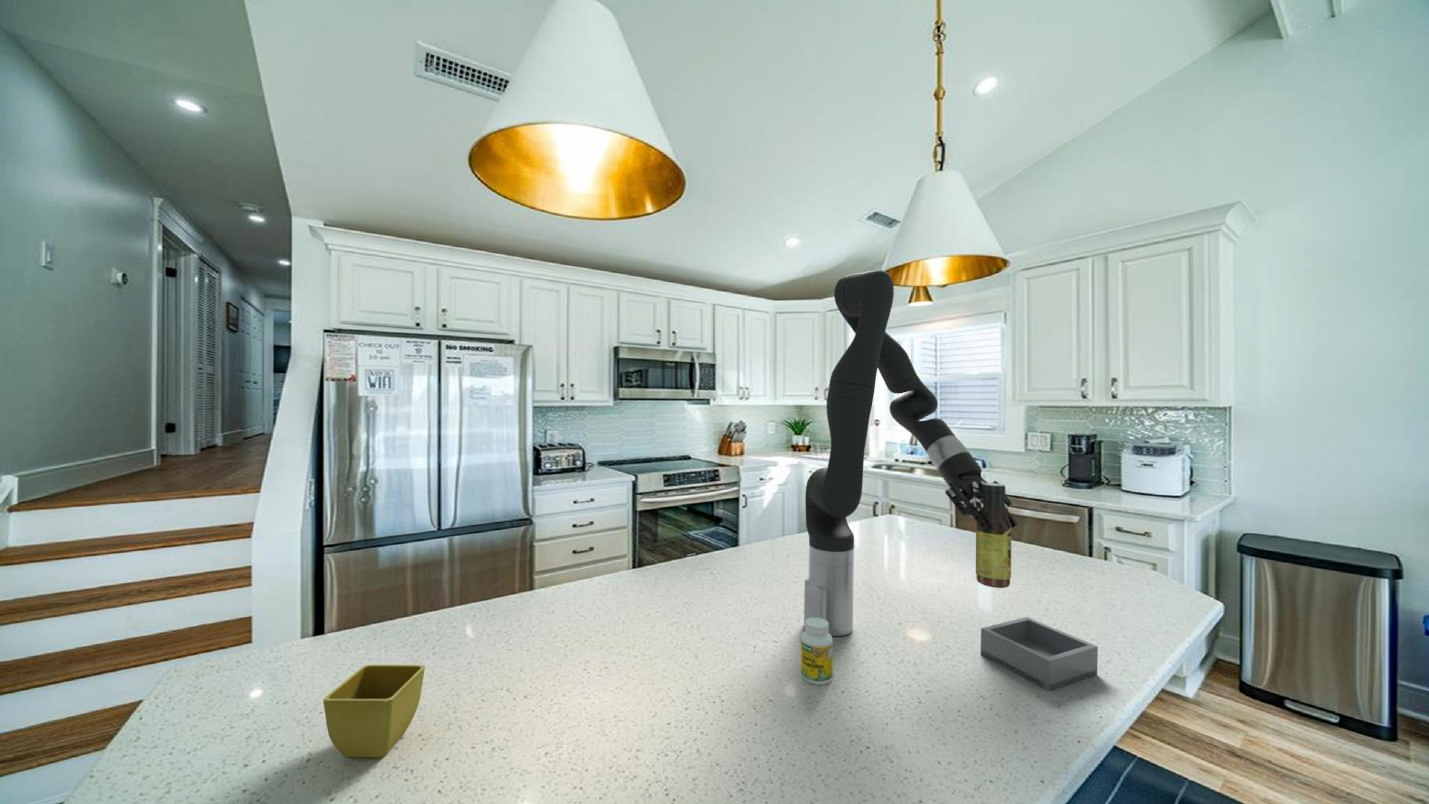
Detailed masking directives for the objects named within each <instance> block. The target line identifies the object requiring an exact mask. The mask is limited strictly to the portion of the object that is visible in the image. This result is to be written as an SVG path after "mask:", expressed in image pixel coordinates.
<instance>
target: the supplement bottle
mask: <svg viewBox="0 0 1429 804" xmlns="http://www.w3.org/2000/svg"><path fill="white" fill-rule="evenodd" d="M804 629H805V630H804V631H803V632H802V634H801V637H800V643H801V644H800V647H801V648H800V674H801V675H800V676H801V678H802V679H803V680H804V681H806V682H807V683H809V684H812V685H816V686H817V685H818V686H819V685H820V686H823V685H827V684H829V683H830V682H832V680H833V677H834V676H833V673H834V671H833V670H834V667H833V666H834V665H833V661H834V660H833V659H834V658H833V656H834V655H833V651H834V647H833V646H834V642H833V641H834V640H833V636H831V635H830V634H829V633H828V631H829V624H828V622H827V621H826V620H824V619H822V618H808V619H806V621H805V624H804Z"/></svg>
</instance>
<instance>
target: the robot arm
mask: <svg viewBox="0 0 1429 804" xmlns="http://www.w3.org/2000/svg"><path fill="white" fill-rule="evenodd" d="M894 288H895V286H894V282H893V279H892V277H891V275H890V274H889V273H888V272H887V271H885V270H883V269H881V270H880V269H879V270H878V269H877V270H869V271H863V272H856V273H851V274H847V275H844V276H843V277H841V278H840V279H839V280H838V281H837V282H836V285H835V286H834V293H833V297H834V303H835V305H836V307H837V310H838V311H839V313H840V314H841V316H842V317H843V319H844V320H845V321H846V323H847V324H848V326H849V327H850V328H851V329H852V331H853V332H854V334H855V335H854V337H853V339H852V341H851V343H850V345H849V346H848V348H847V349H846V350H845V351H844V353H843V354H842V356H841V358H840V359H839V360H838V361H837V363H836V365H835V367H834V369H833V370H832V372H831V375H830V379H829V384H828V391H827V396H826V417H827V421H828V423H827V424H828V428H829V437H830V451H829V458H828V464H827V467H820V468H819V469H816V470H815V471H814V472H813V473H811V474H810V475H809V478H808V480H807V482H806V486H805V497H804V498H805V501H804V503H805V526H806V527H805V528H806V531H807V533H808V539H809V540H808V542H809V543H808V545H809V547H808V579H805V580H804V603H803V604H804V605H803V606H804V607H803V609H804V610H803V611H804V612H803V614H804V615H803V623H804V625H805V621H806V619H808V618H822V619H824V620H826V621H827V622H828V624H829V631H828V633H829V634H830V635H831V636H832V637H842V636H846V635H849V634H851V633H852V632H853V629H854V627H853V626H854V625H853V624H854V623H853V622H854V573H855V571H854V570H855V569H854V568H855V567H854V565H855V564H854V563H855V562H854V561H855V536H854V533H853V531H852V529H851V528H850V526H849V523H848V521H847V518H848V517H849V516H851V515H852V514H853V513H855V511H856V510H857V509H858V507H859V505H860V503H861V499H862V495H863V493H862V492H863V481H864V478H863V477H864V461H865V450H866V443H867V437H868V431H869V424H870V416H871V412H872V406H873V402H874V401H873V400H874V394H875V388H876V380H877V379H876V378H877V372H878V371H879V373H880V375H881V377H882V380H883V382H884V384H885V385H886V388H887V390H888V391H890V392H891V393H893V394H899V395H900V394H902V395H901V396H899V397H897V398H895V399H893V400H892V401H891V402H890V404H889V413H890V415H891V417H892V418H893V420H894V421H895V422H896V423H898V424H899V425H900V426H901V427H903V428H904V429H905V430H906V431H908V432H909V433H910V434H911V435H912V436H913V437H915V439H916V440H917V441H918V442H919V443H920V445H921V446H922V448H923V449H924V451H925V453H927V455H928V458H929V459H930V462H931V463H932V465H933V466H934V467H935V468H936V471H937V472H938V473H939V474H940V476H941V477H942V479H943V480H944V482H945V483H946V485H947V486H948V488H947V489H946V490H945V495H946V496H947V497H948V498H949V499H950V500H951V502H952V503H953V504H954V507H956V508H957V510H958V511H959V512H960V513H961V515H963V516H967V515H968V516H969V517H971V518H973V519H974V520H975V522H976V524H977V523H978V524H979V526H980V527H981V529H982V530H983V531H984V532H985V533H990V532H991V531H992V530H994V529H995V526H994V525H993V523H992V522H991V520H990V519H989V518H988V516H987V515H986V513H985V512H984V511H983V512H981V511H982V508H983V506H982V505H983V490H982V484H983V483H988V481H986V480H985V479H984V477H982V471H983V470H982V466H980V465H979V463H978V461H976V459H975V457H973V455H972V454H971V453H970V451H969V450H968V449H967V448H966V446H965V445H964V444H963V442H961V440H959V438H957V436H956V435H955V434H954V432H953V431H952V430H951V429H950V427H949V426H948V425H947V423H946V422H945V421H944V420H943V419H941V418H938V417H937V418H929V419H925V420H922V419H924V418H926V417H928V416H931V415H933V414H934V413H935V412H936V411H937V409H938V405H939V404H938V399H937V397H936V395H935V394H934V393H933V392H932V391H931V390H930V389H929V388H928V387H927V385H926V384H925V383H924V382H923V381H922V380H921V378H920V377H919V376H918V373H917V372H916V370H915V368H914V366H913V363H912V361H911V359H910V357H909V355H908V353H907V352H906V350H905V349H904V348H903V346H902V345H901V344H900V343H899V342H898V341H897V340H896V339H894V338H893V337H892V336H891V335H890V334H889V333H887V327H888V323H889V318H890V315H891V311H892V308H893V302H894V293H895V292H894V290H895V289H894ZM992 483H997V484H1000V483H999V481H996V480H994V481H993V482H992ZM962 503H963V504H964V506H963V504H962ZM981 504H982V505H981ZM1004 504H1005V509H1006V511H1007V514H1008V517H1009V520H1010V523H1011V530H1014V529H1016V528H1017V527H1018V525H1019V524H1018V522H1017V520H1016V519H1015V517H1014V516H1013V515H1012V514H1011V512H1010V511H1009V510H1008V508H1009V507H1010V506H1012V501H1011V500H1010V497H1008V494H1007V493H1006V492H1005V493H1004Z"/></svg>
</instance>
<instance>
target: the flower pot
mask: <svg viewBox="0 0 1429 804" xmlns="http://www.w3.org/2000/svg"><path fill="white" fill-rule="evenodd" d="M425 668H426V665H424V664H423V665H422V664H366V665H363V666H362V667H361V668H359V669H358V670H356V671H355V673H353V674H352V675H351V676H349V678H347V679H346V680H344V681H343V682H342V683H341V684H340V685H338V686H337V687H336V688H334V689H333V690H332V691H331V692H330V693H328V694H327V695H326V696H325V697H324V698H323V700H322V701H323V709H324V715H325V716H324V717H325V720H326V721H325V722H326V730H327V733H328V734H327V735H328V736H329V737H328V738H329V739H330V741H331V743H332V745H333V747H335V749H336V750H337V751H338V752H339V753H340V754H342V756H343V757H346V758H384V757H385V756H387V754H388V753H389V751H390V750H392V748H393V747H394V746H395V745H396V743H398V741H399V740H400V739H401V738H402V737H403V736H404V735H405V733H406V731H407V729H408V728H409V726H410V724H411V723H412V720H413V719H414V716H415V714H416V712H417V709H418V707H419V703H420V699H421V696H422V695H421V693H422V688H423V681H424V676H425Z"/></svg>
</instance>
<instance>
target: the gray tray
mask: <svg viewBox="0 0 1429 804" xmlns="http://www.w3.org/2000/svg"><path fill="white" fill-rule="evenodd" d="M1098 649H1099V648H1098V645H1095V644H1092V643H1090V642H1088V641H1086V640H1083V639H1080V638H1078V637H1077V636H1073V635H1071V634H1069V633H1066V632H1065V631H1064V632H1063V631H1062V630H1059V629H1057V628H1054V627H1052V626H1049V625H1047V624H1044V623H1042V622H1040V621H1037V620H1035V619H1033V618H1031V617H1028V616H1026V617H1021V618H1017V619H1013V620H1008V621H1005V622H1001V623H996V624H993V625H988V626H985V627H980V655H981V656H983V657H984V658H986V659H988V660H990V661H993V662H994V663H996V664H998V665H1000V666H1001V667H1003V668H1005V669H1007V670H1008V671H1011V672H1013V673H1015V674H1017V675H1018V676H1020V677H1022V678H1024V679H1026V680H1027V681H1030V682H1032V683H1033V684H1035V685H1037V686H1039V687H1041V688H1042V689H1045V690H1047V691H1049V692H1050V691H1053V690H1057V689H1059V688H1063V687H1065V686H1067V685H1070V684H1071V685H1072V684H1075V683H1077V682H1080V681H1083V680H1085V679H1088V678H1091V677H1094V676H1098V657H1099V656H1098V655H1099V654H1098V653H1099V652H1098Z"/></svg>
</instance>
